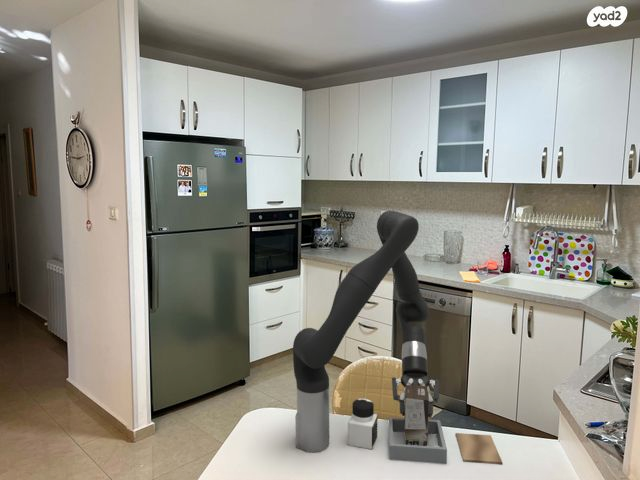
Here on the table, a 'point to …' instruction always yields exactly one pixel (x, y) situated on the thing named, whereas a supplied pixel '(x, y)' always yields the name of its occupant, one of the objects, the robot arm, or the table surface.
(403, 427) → the bin
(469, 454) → the pad
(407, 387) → the coffee box
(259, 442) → the table surface
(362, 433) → the medicine bottle
